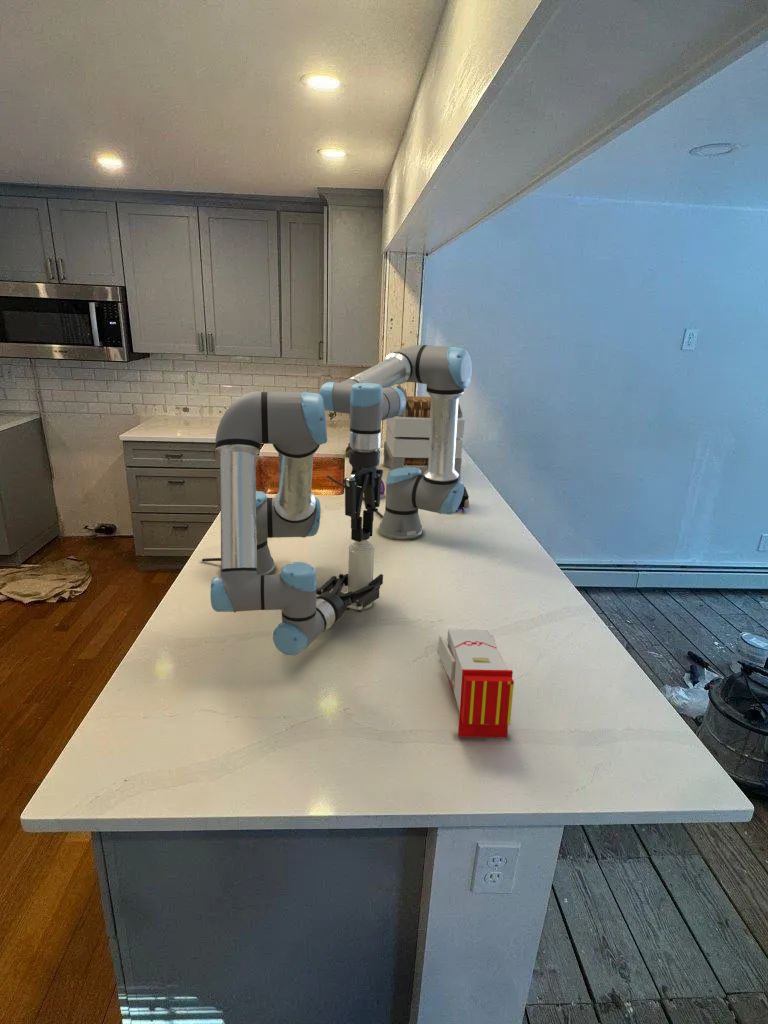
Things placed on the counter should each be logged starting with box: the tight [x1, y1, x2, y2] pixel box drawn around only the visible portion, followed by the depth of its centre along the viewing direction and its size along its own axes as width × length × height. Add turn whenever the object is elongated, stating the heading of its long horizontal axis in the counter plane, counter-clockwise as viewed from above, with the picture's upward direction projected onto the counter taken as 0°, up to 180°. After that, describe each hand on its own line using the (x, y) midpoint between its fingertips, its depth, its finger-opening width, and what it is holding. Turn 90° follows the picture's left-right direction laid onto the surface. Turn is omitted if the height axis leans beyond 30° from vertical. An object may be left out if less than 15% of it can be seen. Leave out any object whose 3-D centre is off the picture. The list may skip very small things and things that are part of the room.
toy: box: [437, 628, 515, 738], centre depth 117 cm, size 12×13×30 cm
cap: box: [361, 527, 371, 541], centre depth 145 cm, size 4×4×2 cm
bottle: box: [347, 539, 375, 610], centre depth 149 cm, size 7×7×20 cm
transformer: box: [383, 384, 465, 481], centre depth 268 cm, size 34×33×41 cm
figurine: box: [376, 464, 386, 499], centre depth 235 cm, size 9×10×15 cm
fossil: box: [344, 442, 351, 458], centre depth 304 cm, size 22×10×15 cm
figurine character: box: [455, 486, 470, 513], centre depth 227 cm, size 7×8×15 cm
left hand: (369, 575), depth 154 cm, fingers closed on bottle, 7 cm apart
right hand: (361, 537), depth 146 cm, fingers closed on cap, 4 cm apart
